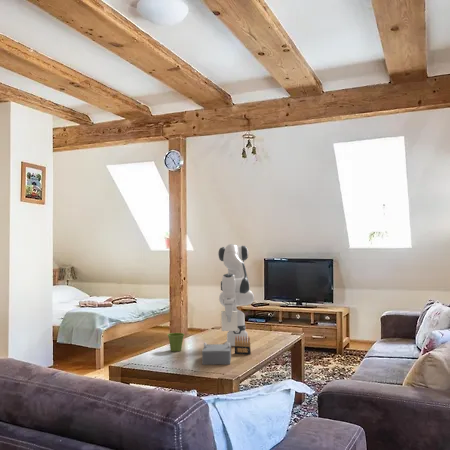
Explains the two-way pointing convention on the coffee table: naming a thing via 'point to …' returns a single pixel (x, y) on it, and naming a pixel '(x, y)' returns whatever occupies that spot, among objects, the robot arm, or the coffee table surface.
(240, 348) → the ammunition clip
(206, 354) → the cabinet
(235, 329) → the door panel
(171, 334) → the plant pot
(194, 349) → the coffee table surface
